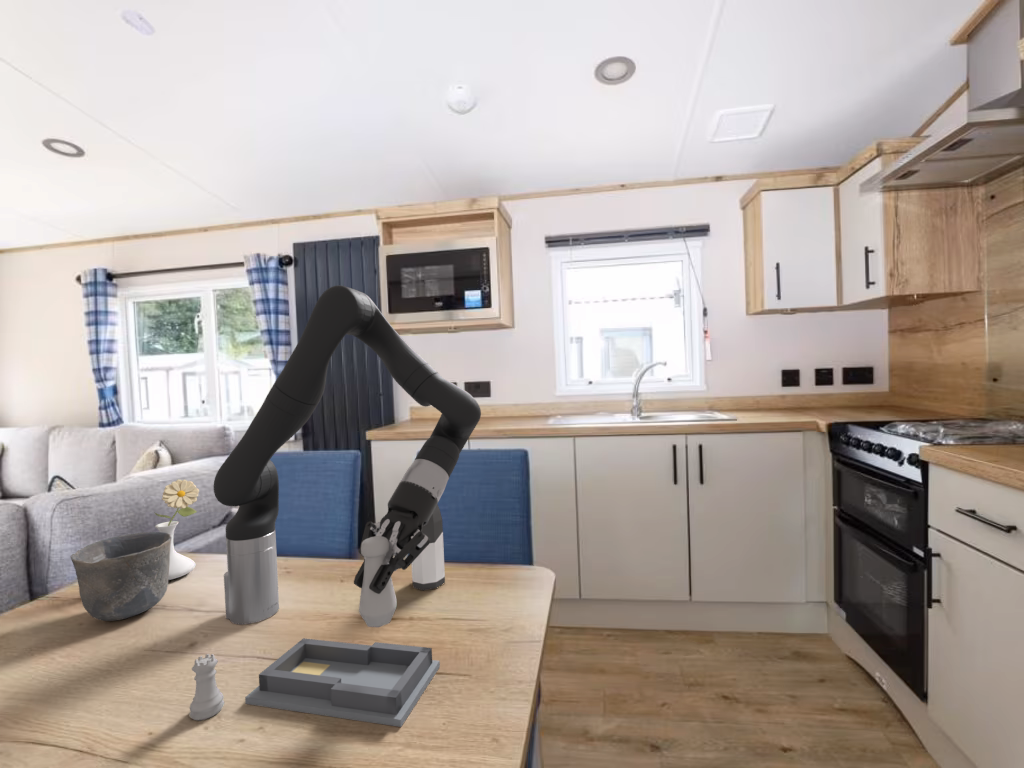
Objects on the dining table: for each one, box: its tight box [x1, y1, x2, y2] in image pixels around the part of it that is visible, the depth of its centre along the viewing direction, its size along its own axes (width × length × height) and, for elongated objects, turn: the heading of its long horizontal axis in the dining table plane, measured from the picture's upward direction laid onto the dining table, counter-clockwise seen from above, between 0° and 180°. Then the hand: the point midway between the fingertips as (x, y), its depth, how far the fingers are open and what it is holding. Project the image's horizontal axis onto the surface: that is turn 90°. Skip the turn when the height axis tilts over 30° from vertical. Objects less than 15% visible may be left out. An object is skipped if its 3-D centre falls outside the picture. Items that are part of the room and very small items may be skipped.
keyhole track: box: [244, 637, 441, 728], centre depth 76 cm, size 26×14×4 cm, turn 76°
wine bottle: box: [411, 504, 446, 591], centre depth 113 cm, size 8×8×30 cm
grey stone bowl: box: [70, 531, 172, 622], centre depth 105 cm, size 18×18×15 cm
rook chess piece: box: [188, 653, 225, 722], centre depth 71 cm, size 4×4×8 cm
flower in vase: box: [154, 479, 200, 581], centre depth 124 cm, size 13×11×25 cm
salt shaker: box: [358, 536, 398, 628], centre depth 75 cm, size 6×6×13 cm
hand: (366, 588), depth 73 cm, fingers closed on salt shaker, 3 cm apart
